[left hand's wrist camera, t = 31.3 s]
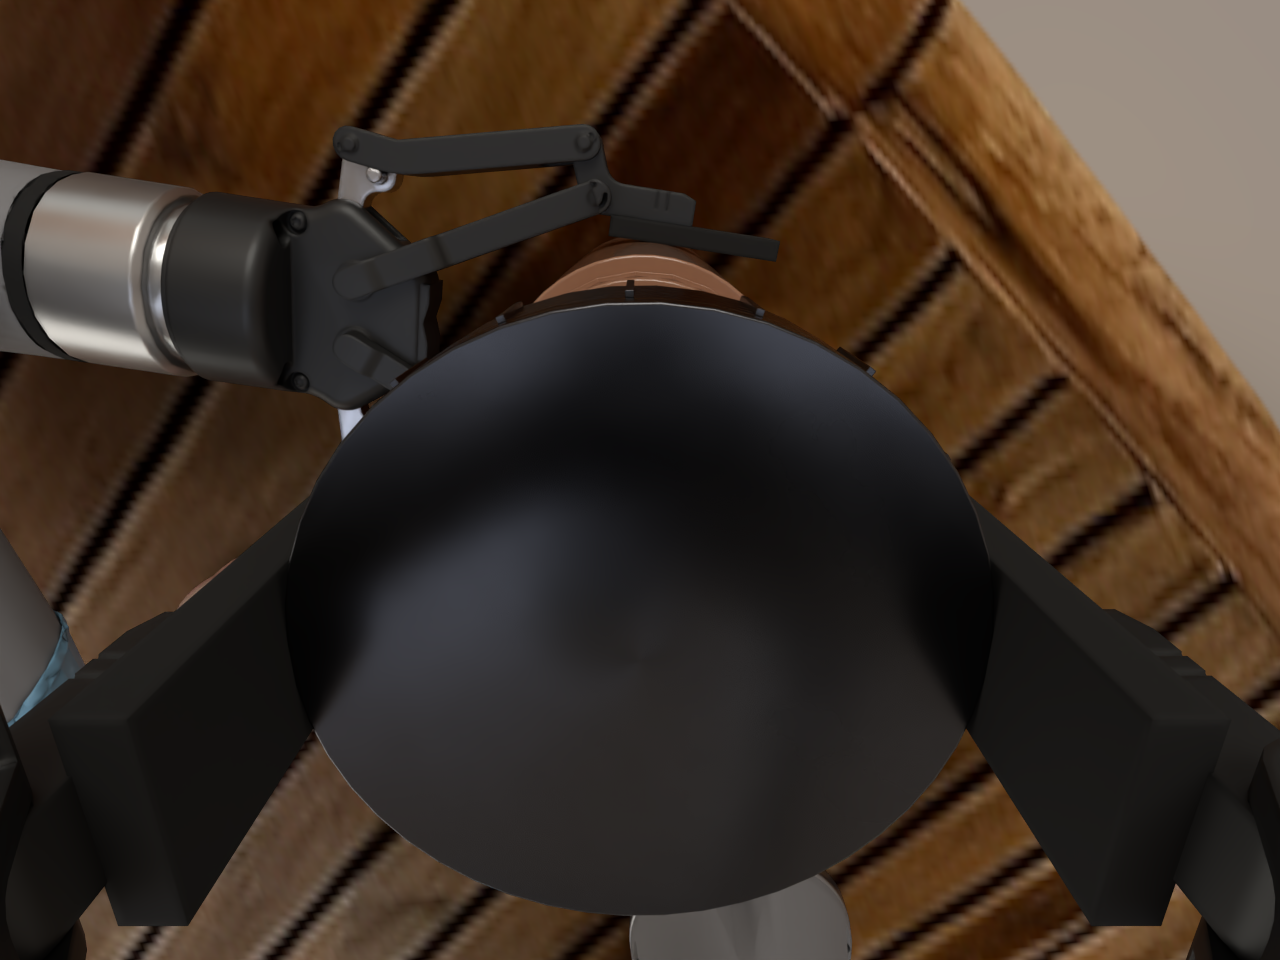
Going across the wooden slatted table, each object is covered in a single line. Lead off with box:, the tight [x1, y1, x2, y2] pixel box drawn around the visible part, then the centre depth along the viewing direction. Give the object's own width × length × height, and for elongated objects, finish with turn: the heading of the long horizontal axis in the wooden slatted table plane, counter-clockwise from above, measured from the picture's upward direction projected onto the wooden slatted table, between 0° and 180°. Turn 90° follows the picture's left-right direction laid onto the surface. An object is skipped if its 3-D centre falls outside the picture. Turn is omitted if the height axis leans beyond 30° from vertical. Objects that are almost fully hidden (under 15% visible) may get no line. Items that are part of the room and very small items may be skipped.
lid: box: [285, 280, 994, 916], centre depth 11 cm, size 10×10×2 cm
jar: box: [533, 238, 744, 303], centre depth 29 cm, size 9×9×17 cm
